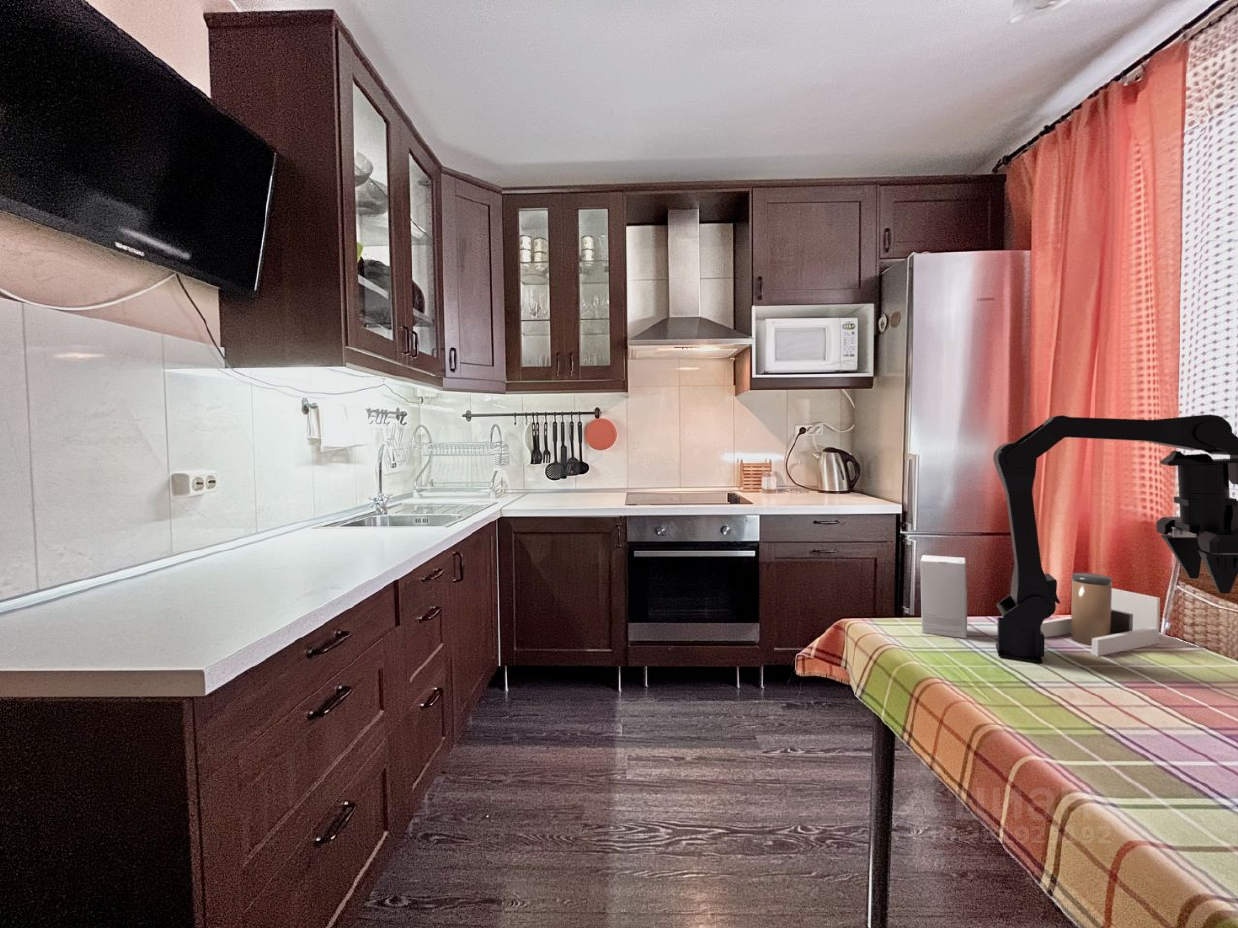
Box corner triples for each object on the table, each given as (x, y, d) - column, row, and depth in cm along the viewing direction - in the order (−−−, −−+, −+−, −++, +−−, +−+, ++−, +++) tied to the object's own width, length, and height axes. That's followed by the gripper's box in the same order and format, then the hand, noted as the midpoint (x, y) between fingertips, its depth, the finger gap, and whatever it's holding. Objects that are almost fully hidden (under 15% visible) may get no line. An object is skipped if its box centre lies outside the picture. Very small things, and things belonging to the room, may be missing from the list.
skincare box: (966, 630, 116) (967, 557, 115) (966, 640, 110) (967, 563, 110) (921, 624, 120) (922, 553, 120) (919, 632, 115) (920, 558, 114)
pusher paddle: (1129, 642, 107) (1129, 614, 107) (1082, 629, 114) (1083, 603, 114) (1132, 641, 107) (1132, 613, 107) (1085, 629, 115) (1086, 602, 115)
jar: (1074, 643, 108) (1075, 577, 108) (1068, 634, 113) (1069, 571, 113) (1114, 648, 105) (1115, 581, 105) (1106, 639, 110) (1107, 574, 110)
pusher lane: (1097, 656, 101) (1098, 607, 101) (1035, 636, 112) (1036, 592, 112) (1158, 643, 108) (1160, 597, 107) (1094, 626, 118) (1095, 584, 118)
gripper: (1315, 496, 78) (1320, 604, 79) (1237, 483, 95) (1242, 572, 96) (1209, 499, 83) (1214, 601, 83) (1152, 486, 100) (1157, 571, 100)
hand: (1208, 585), depth 91 cm, fingers open, 9 cm apart
